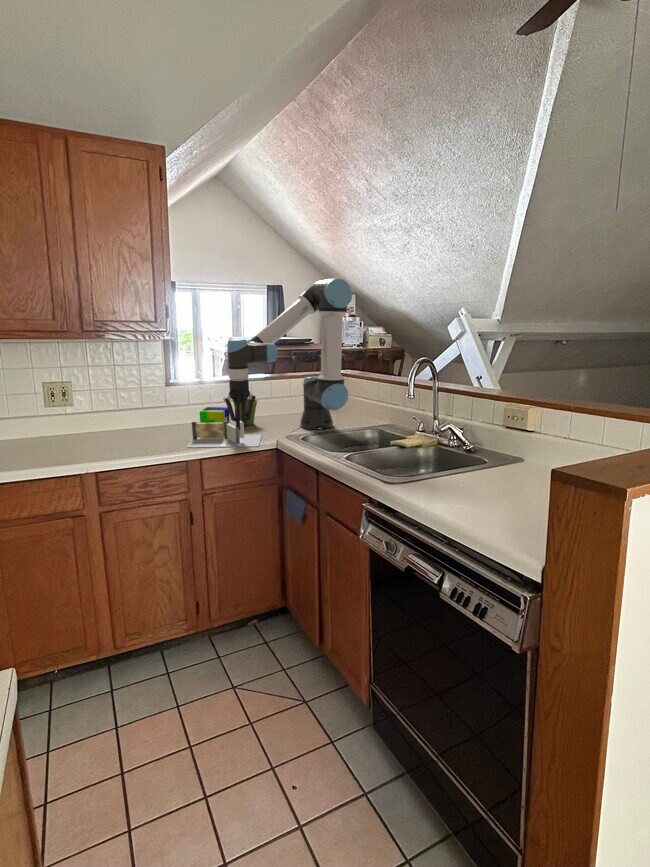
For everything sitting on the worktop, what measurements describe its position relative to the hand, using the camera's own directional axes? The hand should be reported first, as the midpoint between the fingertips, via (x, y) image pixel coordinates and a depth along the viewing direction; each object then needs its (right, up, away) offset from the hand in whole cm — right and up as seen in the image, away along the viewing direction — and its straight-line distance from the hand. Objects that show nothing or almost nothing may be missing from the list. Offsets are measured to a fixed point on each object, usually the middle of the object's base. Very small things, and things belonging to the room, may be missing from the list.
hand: (241, 437), depth 202 cm
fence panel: (-3, -1, 0) cm, 4 cm away
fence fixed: (-14, -1, +6) cm, 15 cm away
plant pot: (-3, +6, +34) cm, 35 cm away
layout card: (-7, -2, +3) cm, 8 cm away
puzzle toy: (-15, +2, +20) cm, 25 cm away
